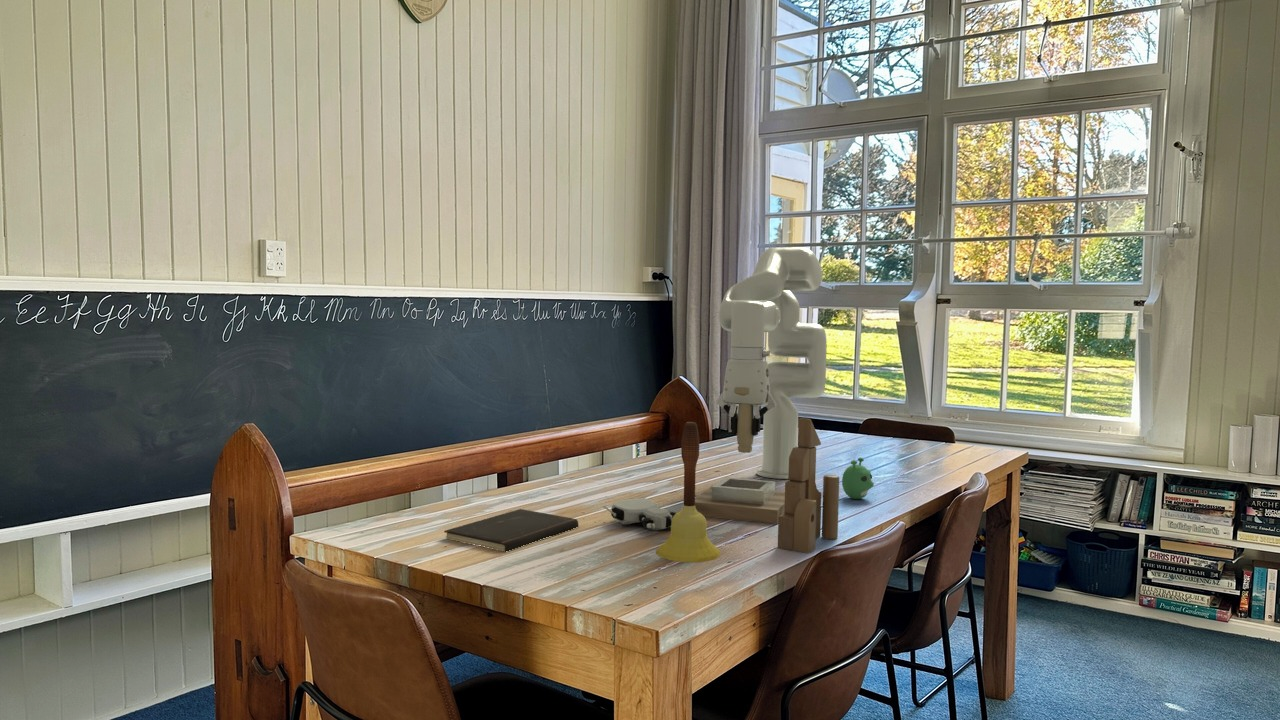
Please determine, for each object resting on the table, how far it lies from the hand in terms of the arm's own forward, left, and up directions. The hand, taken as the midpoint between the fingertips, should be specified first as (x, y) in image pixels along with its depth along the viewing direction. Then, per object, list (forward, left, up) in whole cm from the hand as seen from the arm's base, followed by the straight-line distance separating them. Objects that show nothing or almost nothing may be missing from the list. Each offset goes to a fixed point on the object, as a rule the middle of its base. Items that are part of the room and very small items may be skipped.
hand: (745, 433), depth 203 cm
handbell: (+39, -1, -18) cm, 43 cm away
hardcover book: (+40, -38, -18) cm, 58 cm away
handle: (0, 0, -4) cm, 4 cm away
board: (0, 0, -18) cm, 18 cm away
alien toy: (-23, +23, -18) cm, 37 cm away
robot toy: (+23, -16, -18) cm, 33 cm away
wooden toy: (+22, +19, -18) cm, 34 cm away
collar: (0, 0, -15) cm, 15 cm away
